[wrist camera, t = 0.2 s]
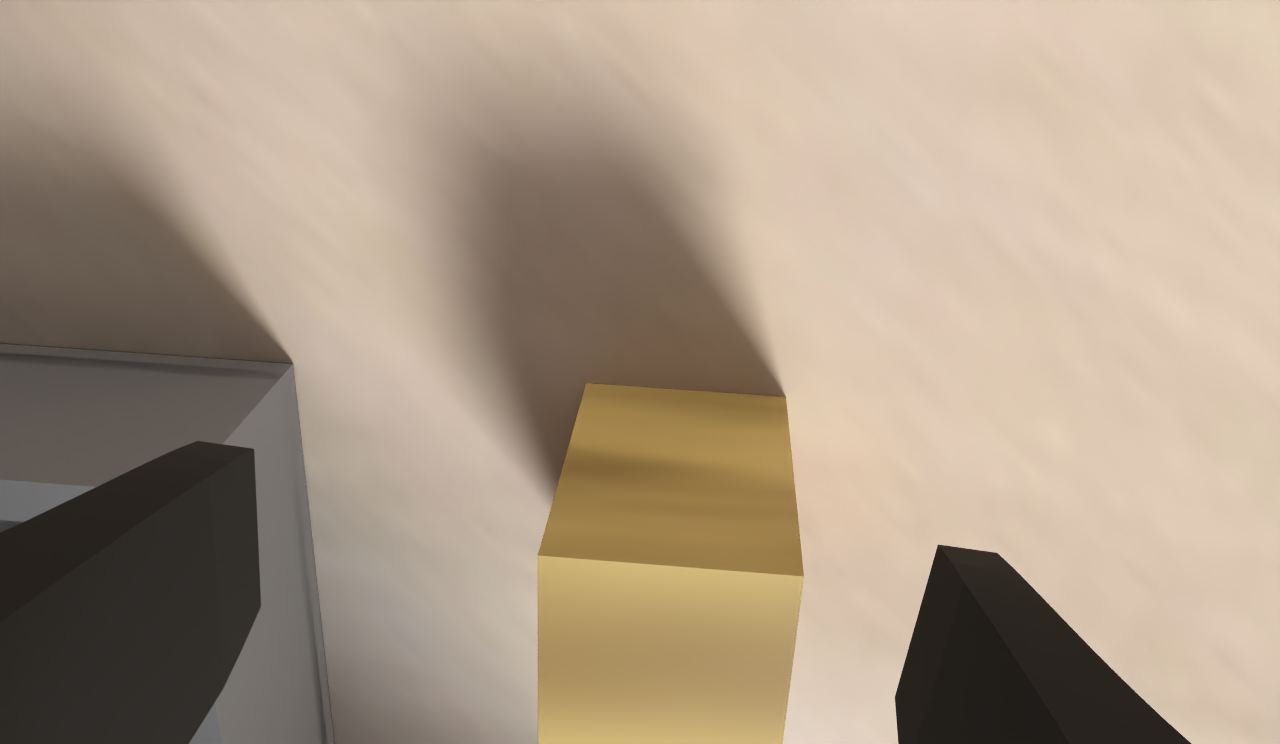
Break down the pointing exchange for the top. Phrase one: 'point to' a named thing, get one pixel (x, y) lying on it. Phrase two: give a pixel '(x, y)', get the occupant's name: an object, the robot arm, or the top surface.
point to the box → (155, 425)
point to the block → (670, 572)
